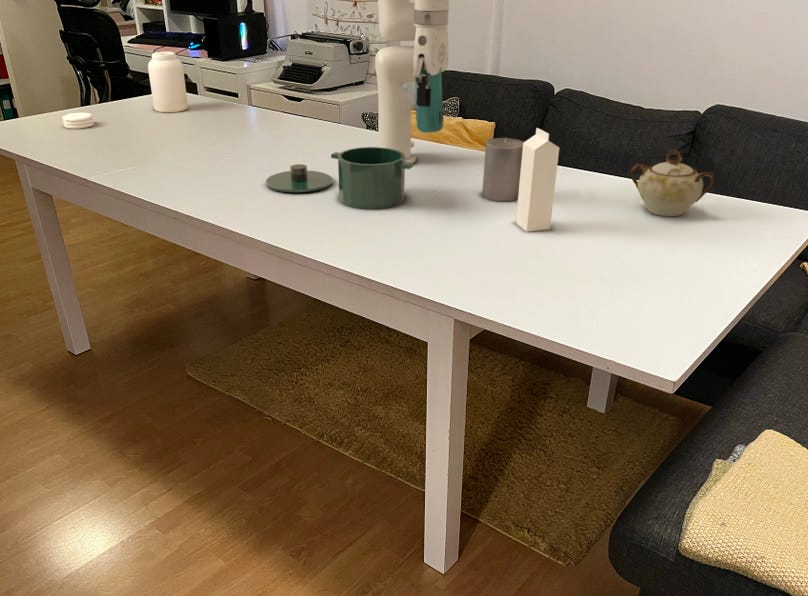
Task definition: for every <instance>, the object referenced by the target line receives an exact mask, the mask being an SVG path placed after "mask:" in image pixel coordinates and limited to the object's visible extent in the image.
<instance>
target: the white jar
mask: <svg viewBox="0 0 808 596" xmlns="http://www.w3.org/2000/svg"><path fill="white" fill-rule="evenodd" d="M182 63H183V62H182V61H181V60H180V59H178V58H177V54H176V53H175V52H173V51H157V52H156V51H155V52H153V53H152V54H151V59H150V60H149V62H148V64H147V70H148V77H149V85H150V90H151V96H152V103H153V109H154V111H156V112H159V113H180V112H183V111H185V110H187V109H188V108H189V103H188V95H187V88H186V80H185V73H184V65H183V64H182Z"/></svg>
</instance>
